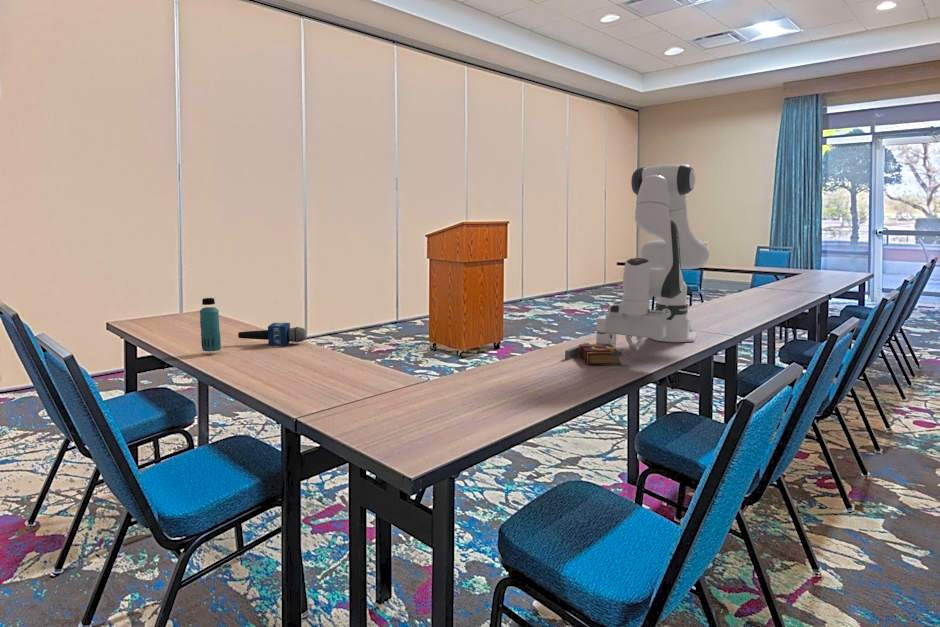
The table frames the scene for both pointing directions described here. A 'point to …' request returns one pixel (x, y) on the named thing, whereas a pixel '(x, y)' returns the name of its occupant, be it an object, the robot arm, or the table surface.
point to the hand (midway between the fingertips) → (633, 349)
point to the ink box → (604, 333)
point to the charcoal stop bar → (572, 352)
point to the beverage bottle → (210, 326)
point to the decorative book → (599, 354)
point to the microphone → (277, 334)
